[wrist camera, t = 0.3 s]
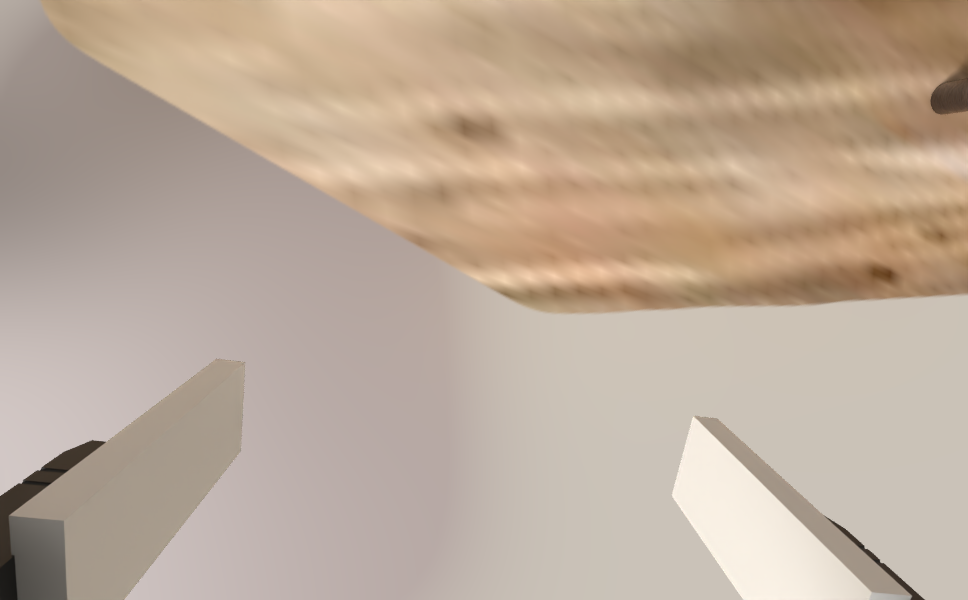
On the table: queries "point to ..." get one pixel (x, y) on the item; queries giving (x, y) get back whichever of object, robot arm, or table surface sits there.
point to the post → (950, 97)
